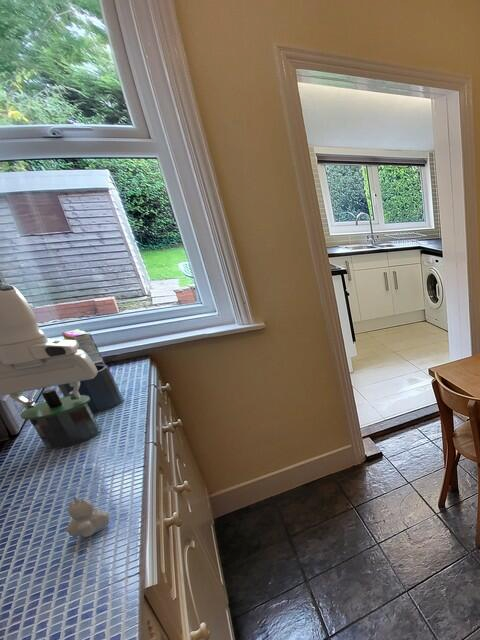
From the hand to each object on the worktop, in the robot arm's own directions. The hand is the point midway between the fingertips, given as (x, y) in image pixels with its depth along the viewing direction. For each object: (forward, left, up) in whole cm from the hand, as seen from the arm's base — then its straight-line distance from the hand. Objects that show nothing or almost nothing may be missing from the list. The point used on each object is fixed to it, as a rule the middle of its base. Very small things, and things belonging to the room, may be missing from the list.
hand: (54, 402), depth 104 cm
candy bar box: (-6, +58, -11) cm, 59 cm away
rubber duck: (+13, -51, -11) cm, 54 cm away
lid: (0, 0, -1) cm, 1 cm away
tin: (+1, +22, -10) cm, 24 cm away
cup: (0, 0, -10) cm, 10 cm away
